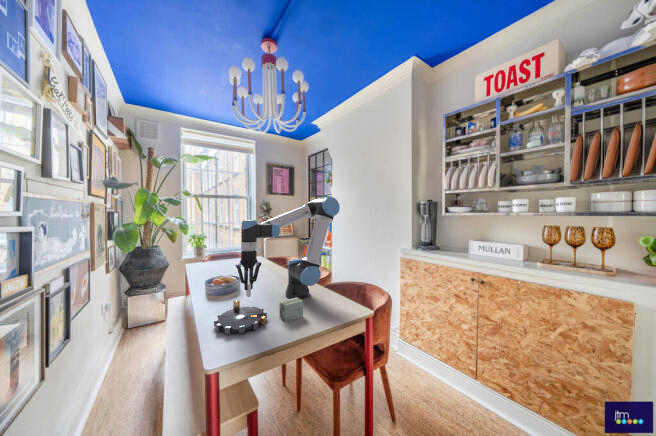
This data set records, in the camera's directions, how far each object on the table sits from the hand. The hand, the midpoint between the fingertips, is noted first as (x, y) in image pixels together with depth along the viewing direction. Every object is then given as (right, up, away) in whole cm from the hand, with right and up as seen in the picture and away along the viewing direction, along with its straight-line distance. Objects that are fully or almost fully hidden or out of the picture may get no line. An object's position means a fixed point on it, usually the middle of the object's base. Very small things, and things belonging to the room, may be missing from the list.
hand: (248, 295), depth 116 cm
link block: (+22, -10, -2) cm, 25 cm away
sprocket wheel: (0, -10, -9) cm, 13 cm away
